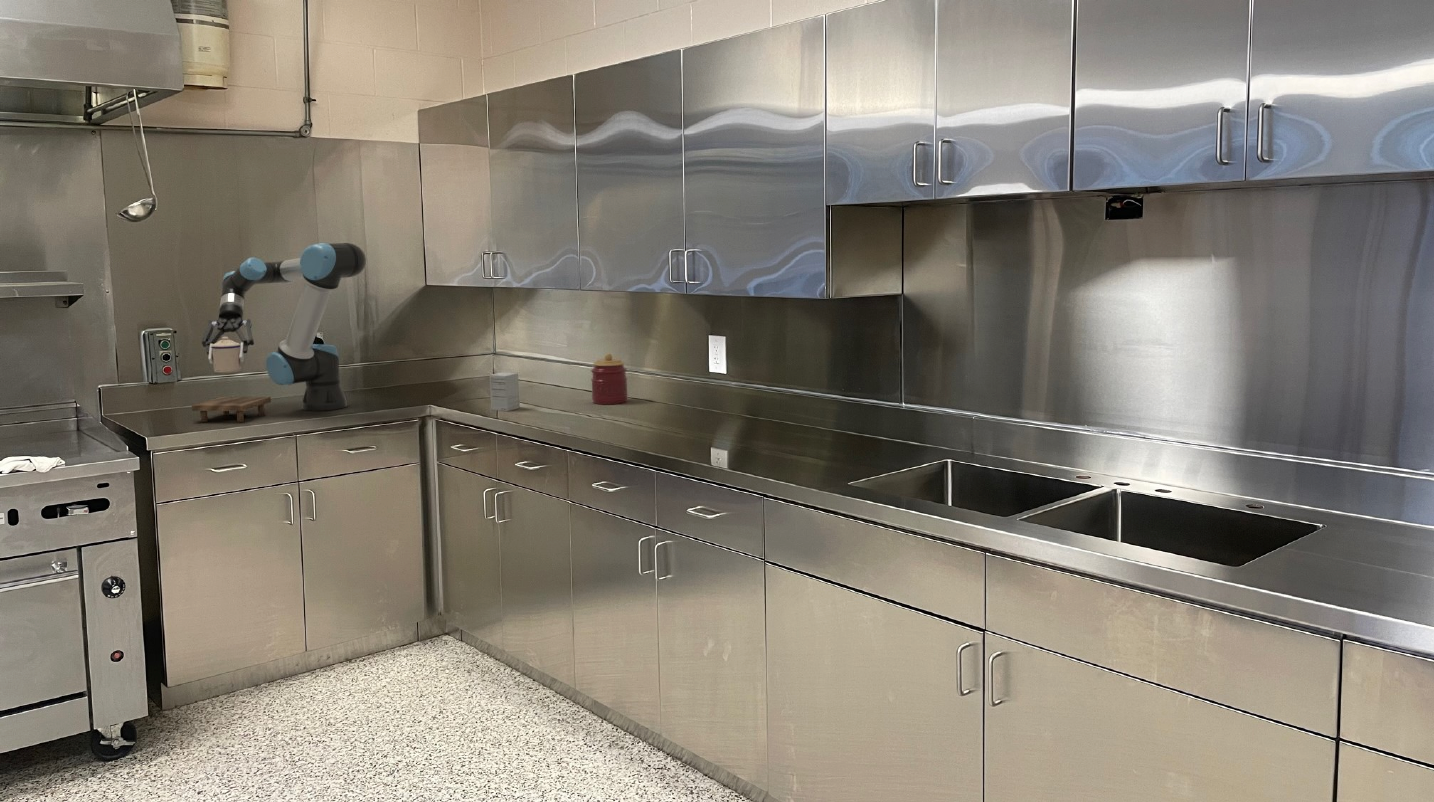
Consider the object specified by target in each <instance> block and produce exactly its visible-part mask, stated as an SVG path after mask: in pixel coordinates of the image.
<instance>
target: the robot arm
mask: <svg viewBox="0 0 1434 802" xmlns="http://www.w3.org/2000/svg"><path fill="white" fill-rule="evenodd" d="M366 264H367V258H366V255H365V253H364V251H363V250H362V248H361V247H360V246H358V245H356V244H354V243H350V242H343V243H342V242H340V243H338V242H337V243H335V242H334V243H325V242H320V243H315V244H311V245H309V246H307V247H306V248H305V249H304V250H303V252H302V253H301V256H300V257H298V258H297V257H296V258H292V259H286V260H285V259H284V260H279V261H271V262H267V261H265V262H264V261H263V260H261V259H259V258H257V257H254V256H253V257H249V258H247V259H246V260H245V261H244V262H242V263H241V264H240V266H239V267H237V268H236V270H233V271H232V270H231V271H229V272H226V273H225V274H224V275H223V278H222V282H221V294H220V295H221V296H220V304H219V310H218V311H219V312H218V317H217V320H216V321H212V320H207V327H206V330H205V331H204V334H203V336H202V338H201V341H200V342H201V345H202V347H203V348H205V352H206V354H207V355H208V361H209V364H210V365H211V364H213V354H212V348H211V347H212V345H213V344H215V343H217V342H218V341H219V339H220V338H222V336H223V335H224V334H225V333H236V335H237V336H238V337H239V339H240V340H241V342H240V345H241V346H240V355H239V358H240V361H241V363H244V357H245V354H247V353H248V349H249V346H254V345H255V341H254V338H253V337H254V336H253V333H252V325H253V324H252V321H251V319H250V318H248V319H246V320H243V318H244V316H243V315H244V307H245V296H246V294H247V292H249V290H250V289H252V288H253V287H254V286H255V285H264V284H279V283H282V284H283V283H284V284H285V283H289V282H290V283H291V282H293V281H298V280H304V281H305V283H304V286H303V288H302V292H301V295H300V297H299V300H298V303H297V306H296V309H295V311H294V315H293V318H292V321H291V323H290V326H289V329H288V333H287V335H286V338H285V339H284V340H282V341H280V342H279V344H278V347H277V351H273V352H271V353H269V354H268V355H267V356H266V359H265V369H266V373H267V375H268V377H269V379H270V380H272V381H271V382H273V383H274V384H275V385H278V386H291V385H296V384H301V383H305V390H304V393H303V394H304V395H303V398H302V403H301V405H302V407H301V408H302V410H303V411H310V412H311V411H312V412H313V411H314V412H323V411H331V410H333V411H334V410H339V409H344V408H346V407H348V402H347V399H346V395H345V394H344V393H345V392H344V390H343V388H342V386H341V379H340V375H341V374H340V363H339V357H340V356H339V354H338V348H337V347H336V345H334V344H320V343H319V344H317V343H316V344H315V343H314V341H315V338H316V336H317V333H318V329H319V327H320V325H321V322H322V318H323V316H324V313H325V311H326V308H327V306H328V302H329V298H330V296H331V293H332V291H335V290H337V289H338V288H339V285H340V282H341V280H342V279H344V278H345V279H347V278H353V277H355V276H358V275H360V274H361V273H362V272H363V271H364V270H365V267H366ZM216 326H217V329H216V330H215V331H214V329H215V328H216ZM242 326H244V327H245V328H246V332H247V337H248V339H247V338H246V336H245V335H244V333H243V332H242V330H241V327H242ZM213 331H214V332H213Z"/></svg>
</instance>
